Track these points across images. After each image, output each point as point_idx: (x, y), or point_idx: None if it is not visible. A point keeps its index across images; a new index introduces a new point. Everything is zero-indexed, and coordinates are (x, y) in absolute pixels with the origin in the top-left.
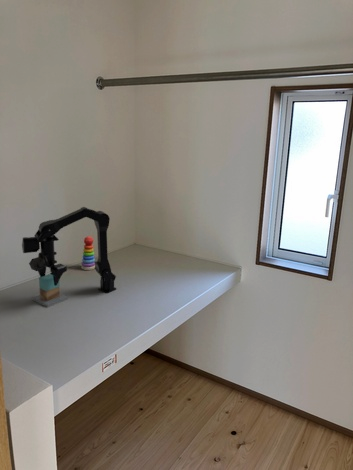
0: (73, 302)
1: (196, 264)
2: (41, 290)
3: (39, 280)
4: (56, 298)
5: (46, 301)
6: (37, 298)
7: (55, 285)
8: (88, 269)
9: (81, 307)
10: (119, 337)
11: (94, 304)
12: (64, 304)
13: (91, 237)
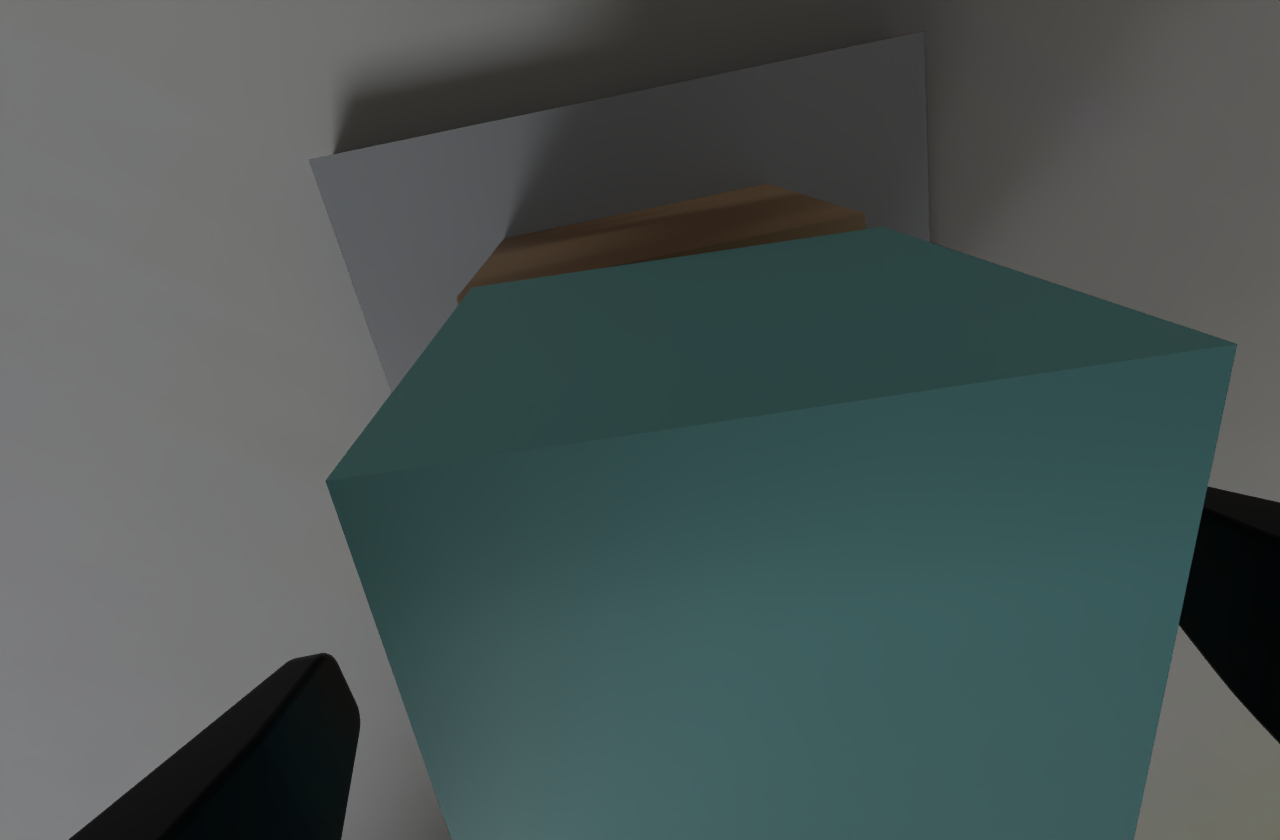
0: (292, 629)
1: None
2: (745, 228)
3: (1052, 296)
4: None
5: (500, 222)
6: (796, 121)
7: (292, 675)
8: None
9: (18, 648)
10: None
11: (51, 822)
12: (290, 483)
13: None
